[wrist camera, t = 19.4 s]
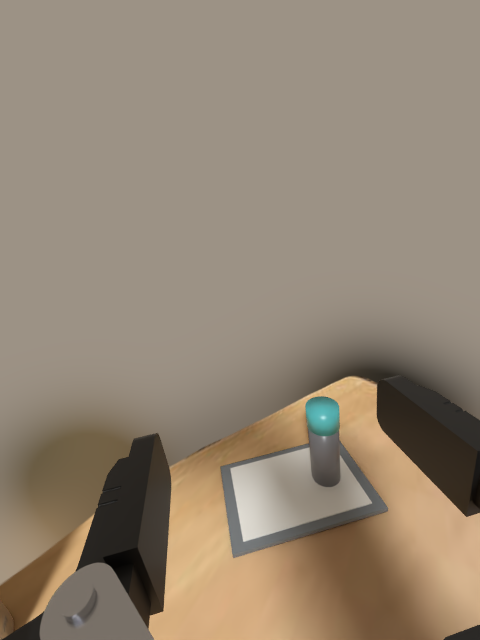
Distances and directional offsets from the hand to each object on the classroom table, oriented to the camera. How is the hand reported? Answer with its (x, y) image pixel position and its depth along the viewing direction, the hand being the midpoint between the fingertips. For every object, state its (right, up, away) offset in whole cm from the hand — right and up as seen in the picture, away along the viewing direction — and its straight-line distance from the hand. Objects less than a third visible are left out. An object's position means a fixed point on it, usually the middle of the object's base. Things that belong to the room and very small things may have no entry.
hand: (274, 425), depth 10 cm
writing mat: (+7, -20, +30) cm, 37 cm away
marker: (+11, -19, +31) cm, 38 cm away
